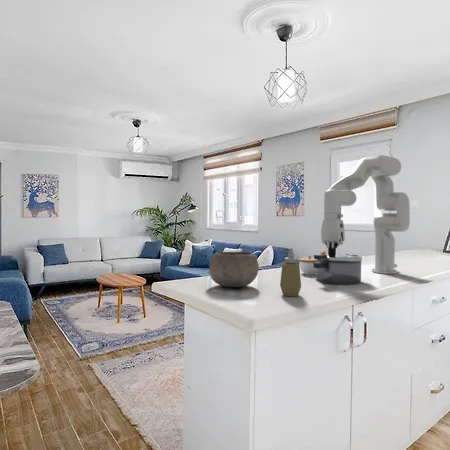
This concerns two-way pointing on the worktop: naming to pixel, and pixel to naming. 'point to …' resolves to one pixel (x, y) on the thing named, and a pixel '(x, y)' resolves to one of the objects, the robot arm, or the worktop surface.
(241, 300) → the worktop surface
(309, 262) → the lidded jar
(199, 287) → the worktop surface
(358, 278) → the cooker pot
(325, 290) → the worktop surface
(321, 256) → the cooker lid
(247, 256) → the clay pot
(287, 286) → the squeeze bottle
